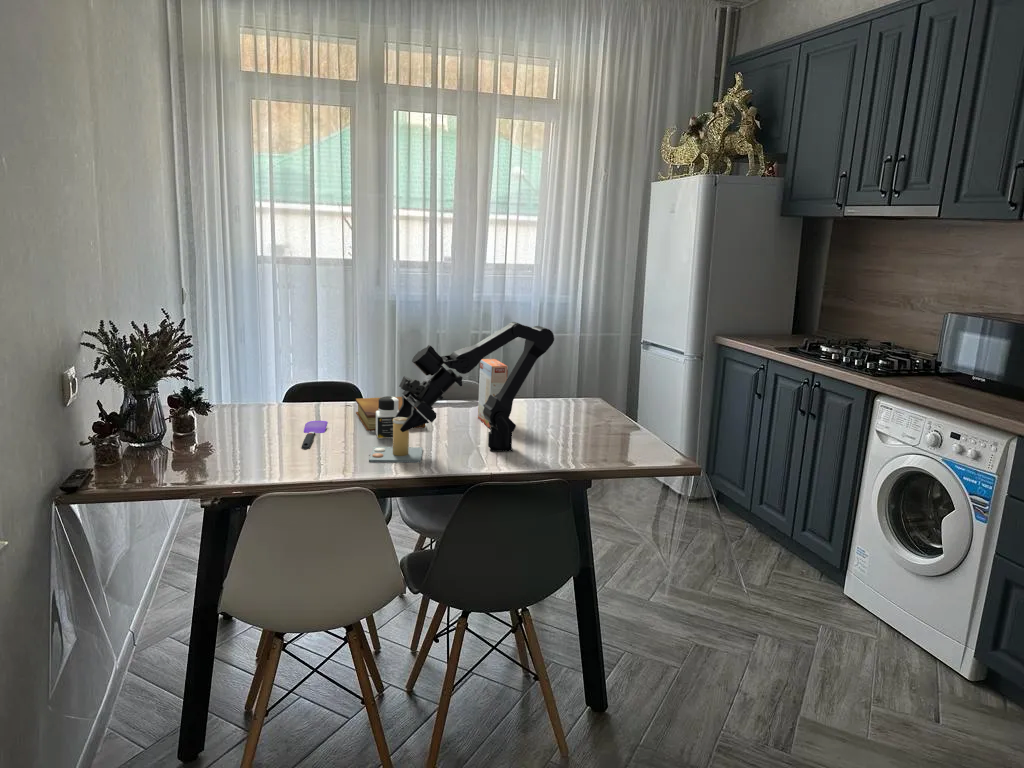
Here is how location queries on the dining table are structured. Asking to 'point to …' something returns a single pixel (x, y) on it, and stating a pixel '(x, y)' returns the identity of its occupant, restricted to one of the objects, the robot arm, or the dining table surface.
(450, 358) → the robot arm
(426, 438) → the dining table surface
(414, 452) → the card
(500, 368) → the cracker box
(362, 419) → the diary
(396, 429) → the amber cup
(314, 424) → the spatula
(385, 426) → the medicine bottle
